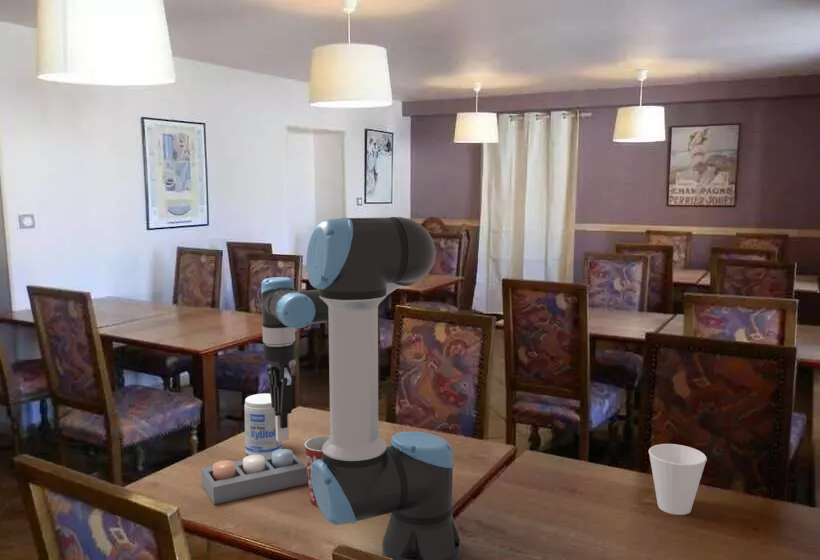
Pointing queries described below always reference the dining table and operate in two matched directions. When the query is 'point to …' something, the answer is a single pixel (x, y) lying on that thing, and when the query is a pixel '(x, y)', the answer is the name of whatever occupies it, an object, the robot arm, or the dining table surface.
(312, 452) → the mug
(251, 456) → the white domed button
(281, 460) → the pale blue dome
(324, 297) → the robot arm
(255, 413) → the supplement tub
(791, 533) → the dining table surface
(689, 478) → the cup
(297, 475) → the grey compartment tray
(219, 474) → the peach round dome
